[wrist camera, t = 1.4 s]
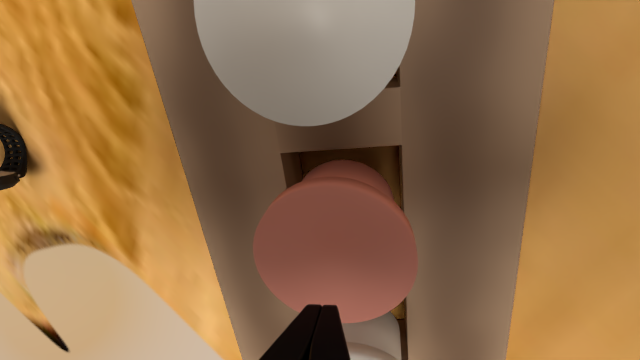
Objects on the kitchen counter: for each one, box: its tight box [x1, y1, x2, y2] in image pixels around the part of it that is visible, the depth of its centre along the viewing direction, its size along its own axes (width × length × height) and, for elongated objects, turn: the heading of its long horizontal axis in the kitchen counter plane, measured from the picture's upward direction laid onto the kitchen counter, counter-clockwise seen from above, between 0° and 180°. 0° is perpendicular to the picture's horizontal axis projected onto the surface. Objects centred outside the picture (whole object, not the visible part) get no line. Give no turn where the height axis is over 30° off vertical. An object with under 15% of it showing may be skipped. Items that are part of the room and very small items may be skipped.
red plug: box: [253, 160, 418, 323], centre depth 13 cm, size 6×6×4 cm
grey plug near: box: [194, 0, 415, 126], centre depth 10 cm, size 6×6×4 cm
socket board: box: [132, 0, 554, 360], centre depth 16 cm, size 15×23×3 cm, turn 7°
